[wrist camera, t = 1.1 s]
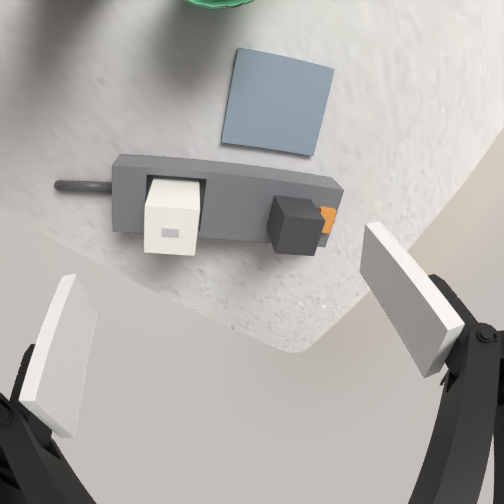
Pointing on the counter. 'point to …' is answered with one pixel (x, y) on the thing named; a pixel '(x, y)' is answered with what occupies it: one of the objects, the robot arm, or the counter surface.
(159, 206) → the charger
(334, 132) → the counter surface
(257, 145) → the mat
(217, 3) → the mug
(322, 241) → the strip
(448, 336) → the robot arm
